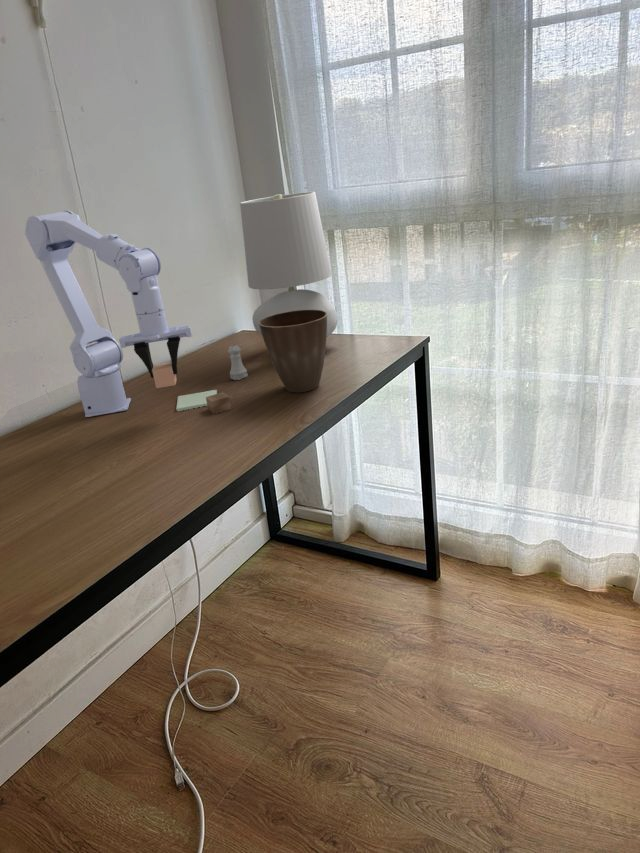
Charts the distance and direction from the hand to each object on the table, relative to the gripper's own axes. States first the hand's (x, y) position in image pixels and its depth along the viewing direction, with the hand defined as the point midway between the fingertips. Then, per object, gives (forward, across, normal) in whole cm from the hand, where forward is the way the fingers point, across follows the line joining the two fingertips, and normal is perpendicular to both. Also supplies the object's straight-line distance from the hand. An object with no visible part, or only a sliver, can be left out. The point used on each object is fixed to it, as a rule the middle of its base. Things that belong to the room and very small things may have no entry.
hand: (164, 374), depth 141 cm
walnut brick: (+10, +10, -1) cm, 14 cm away
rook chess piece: (+10, +15, +20) cm, 27 cm away
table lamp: (+10, +31, +36) cm, 48 cm away
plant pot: (+10, +29, +5) cm, 31 cm away
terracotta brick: (+2, 0, 0) cm, 2 cm away
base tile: (+10, +5, +7) cm, 13 cm away
